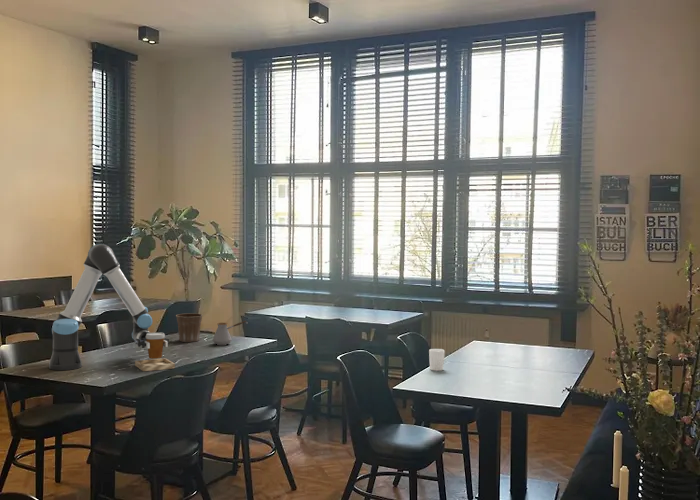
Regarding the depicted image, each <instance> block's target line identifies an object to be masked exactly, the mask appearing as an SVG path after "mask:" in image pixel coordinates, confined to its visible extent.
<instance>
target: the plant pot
mask: <svg viewBox="0 0 700 500" xmlns="http://www.w3.org/2000/svg"><path fill="white" fill-rule="evenodd" d="M175 317H176V322H177V329H178V340H179V342H183V343H191V342H193V343H196V342H198V341H200V335H201V324H202V321H203V320H202V319H203V317H204V316H203V314H202V313H193V312H192V313H191V312H190V313H187V312H186V313H180V314H176V315H175Z"/></svg>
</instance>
